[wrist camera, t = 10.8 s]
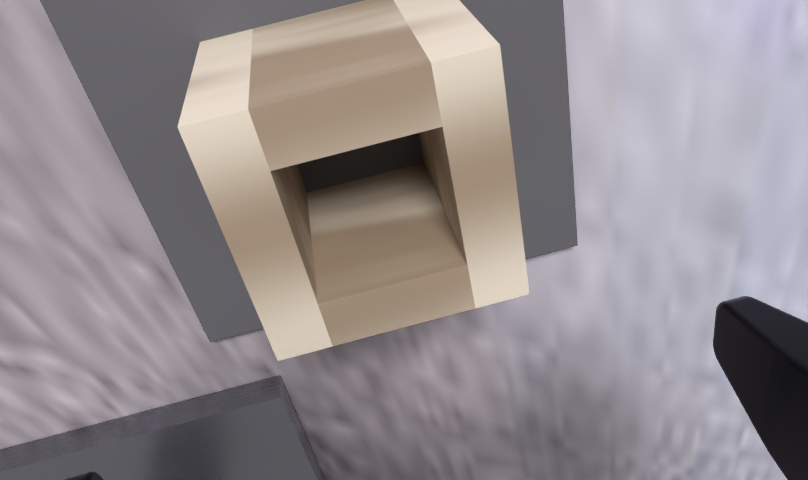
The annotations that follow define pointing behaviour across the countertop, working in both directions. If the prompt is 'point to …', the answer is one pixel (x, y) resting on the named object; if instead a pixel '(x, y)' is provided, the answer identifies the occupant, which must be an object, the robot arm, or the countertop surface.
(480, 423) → the countertop surface
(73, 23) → the dark gray flat plate
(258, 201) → the ash wood collar block
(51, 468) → the metal post stand
